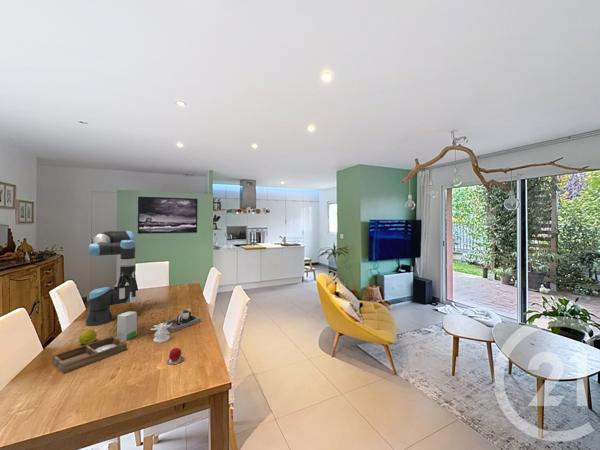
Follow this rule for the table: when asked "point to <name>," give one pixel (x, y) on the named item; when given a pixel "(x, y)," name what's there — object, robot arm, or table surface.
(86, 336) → the lemon
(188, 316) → the camera
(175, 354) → the red push button
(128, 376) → the table surface
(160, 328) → the figurine
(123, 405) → the table surface
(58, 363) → the divided wooden tray
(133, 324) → the skincare box
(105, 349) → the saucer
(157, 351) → the table surface
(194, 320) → the valet frame
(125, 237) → the robot arm
